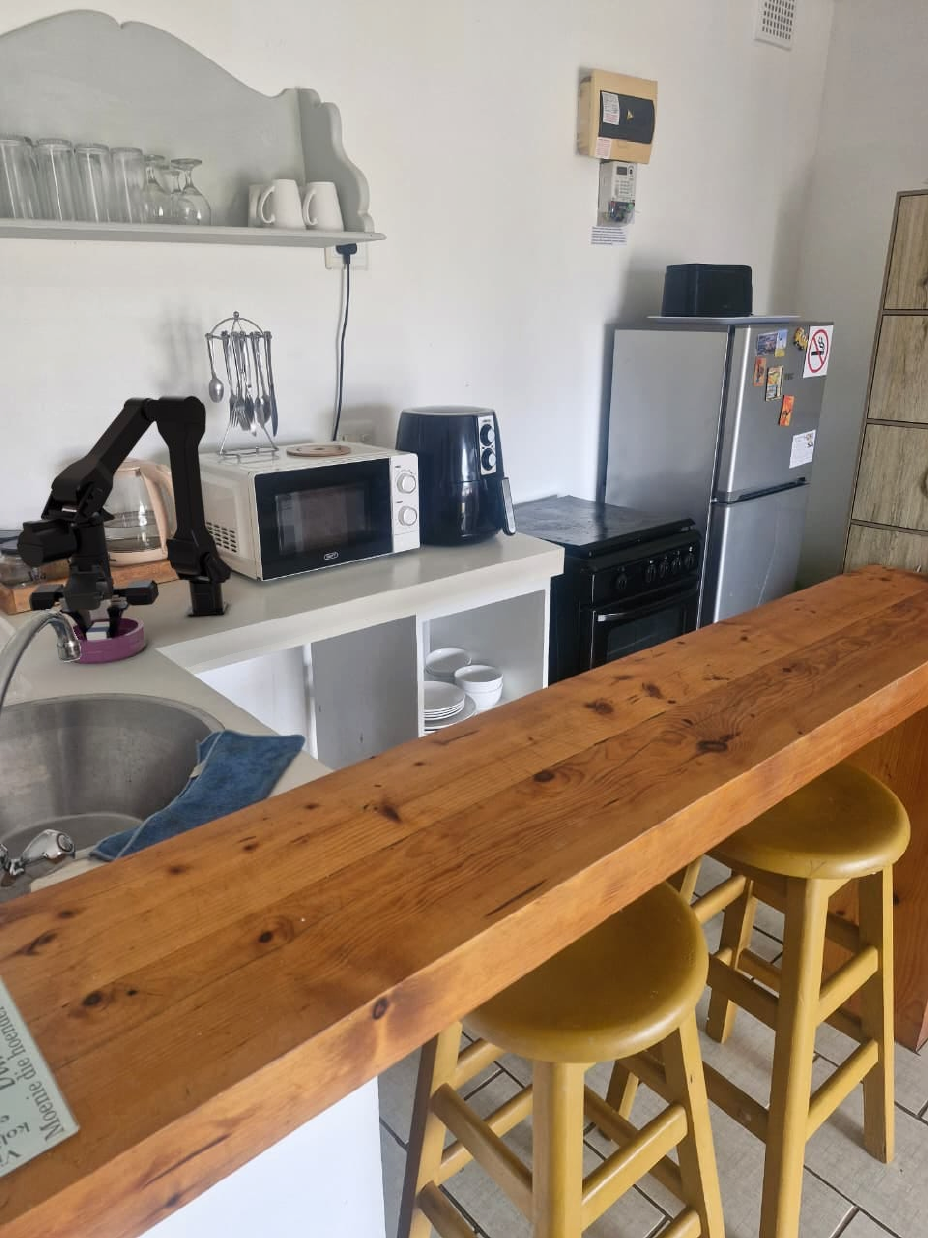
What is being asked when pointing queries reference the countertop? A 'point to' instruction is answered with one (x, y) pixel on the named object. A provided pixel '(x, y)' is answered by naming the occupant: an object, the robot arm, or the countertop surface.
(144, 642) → the bowl
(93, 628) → the eraser
